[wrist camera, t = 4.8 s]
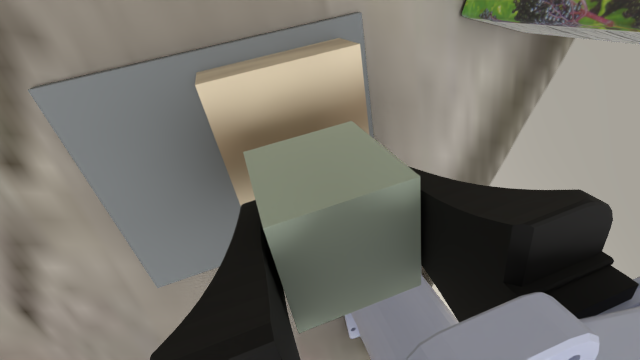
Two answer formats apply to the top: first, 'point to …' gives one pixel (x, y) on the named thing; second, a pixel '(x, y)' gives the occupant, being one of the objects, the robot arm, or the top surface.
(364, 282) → the sage block
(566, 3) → the syrup box
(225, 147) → the oak base
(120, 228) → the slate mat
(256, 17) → the top surface
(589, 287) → the robot arm
